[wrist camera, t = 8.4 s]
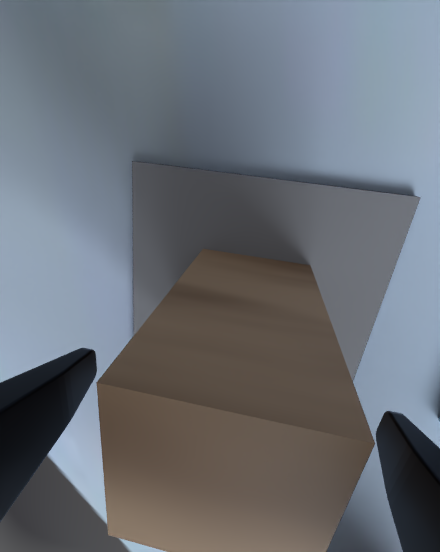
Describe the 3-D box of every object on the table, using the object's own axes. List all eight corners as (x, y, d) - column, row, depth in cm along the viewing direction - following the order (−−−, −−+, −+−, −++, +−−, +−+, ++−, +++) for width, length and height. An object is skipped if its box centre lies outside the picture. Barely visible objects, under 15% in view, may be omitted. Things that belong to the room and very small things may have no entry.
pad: (337, 412, 16) (338, 418, 16) (136, 370, 18) (134, 374, 17) (415, 196, 12) (420, 197, 11) (135, 161, 13) (132, 161, 13)
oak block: (288, 354, 15) (307, 591, 7) (195, 336, 16) (108, 534, 7) (310, 265, 13) (374, 443, 5) (203, 248, 14) (96, 382, 5)
